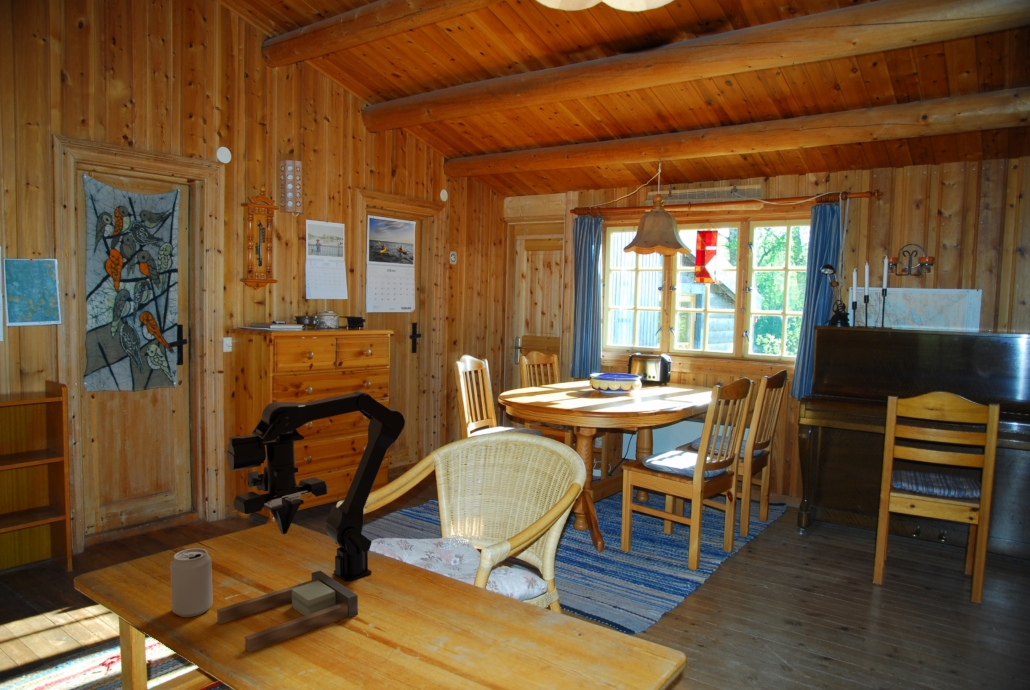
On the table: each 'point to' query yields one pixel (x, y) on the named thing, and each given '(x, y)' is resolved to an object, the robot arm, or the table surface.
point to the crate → (313, 598)
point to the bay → (341, 610)
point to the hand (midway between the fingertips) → (283, 533)
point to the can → (191, 582)
